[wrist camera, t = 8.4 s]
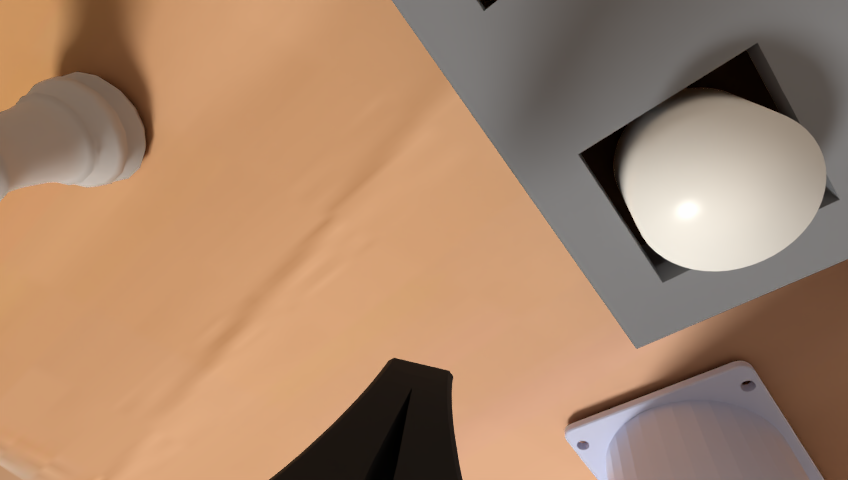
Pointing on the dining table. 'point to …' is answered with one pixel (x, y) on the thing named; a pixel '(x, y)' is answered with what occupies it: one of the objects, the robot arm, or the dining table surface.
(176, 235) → the dining table surface
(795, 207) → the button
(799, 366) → the dining table surface
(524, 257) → the dining table surface
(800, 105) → the button board
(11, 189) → the rook chess piece
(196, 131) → the dining table surface
